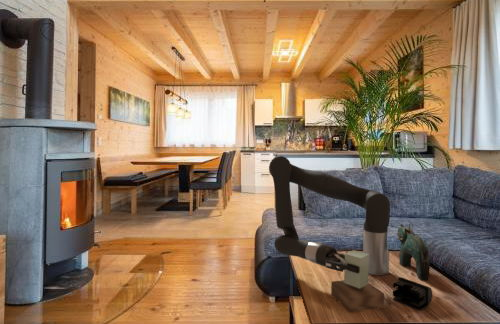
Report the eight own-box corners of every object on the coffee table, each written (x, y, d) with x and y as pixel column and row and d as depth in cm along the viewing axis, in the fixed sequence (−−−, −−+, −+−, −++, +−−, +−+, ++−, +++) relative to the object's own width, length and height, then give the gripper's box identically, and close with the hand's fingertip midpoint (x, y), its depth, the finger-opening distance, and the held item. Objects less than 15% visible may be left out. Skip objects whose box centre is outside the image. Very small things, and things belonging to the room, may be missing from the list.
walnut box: (361, 291, 110) (361, 278, 110) (383, 308, 99) (384, 293, 99) (331, 295, 108) (331, 281, 107) (350, 313, 96) (350, 297, 96)
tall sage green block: (352, 278, 107) (353, 250, 106) (368, 283, 103) (369, 254, 102) (344, 282, 103) (344, 253, 103) (359, 288, 99) (360, 258, 99)
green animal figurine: (395, 262, 138) (396, 218, 138) (409, 262, 138) (410, 218, 137) (417, 281, 119) (419, 230, 118) (434, 281, 118) (436, 230, 118)
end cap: (432, 305, 100) (433, 285, 100) (421, 312, 96) (422, 290, 96) (402, 293, 109) (403, 274, 108) (391, 299, 105) (391, 279, 104)
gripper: (308, 248, 108) (352, 261, 96) (331, 240, 118) (374, 251, 105) (308, 269, 109) (352, 285, 96) (331, 259, 118) (374, 273, 106)
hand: (363, 267), depth 101 cm, fingers closed on tall sage green block, 5 cm apart
